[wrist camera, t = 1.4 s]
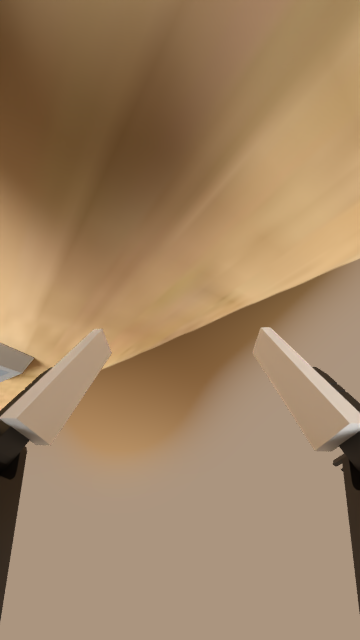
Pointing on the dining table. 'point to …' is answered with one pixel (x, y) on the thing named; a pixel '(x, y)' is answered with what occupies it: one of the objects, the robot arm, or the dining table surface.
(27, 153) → the dining table surface
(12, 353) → the tray
